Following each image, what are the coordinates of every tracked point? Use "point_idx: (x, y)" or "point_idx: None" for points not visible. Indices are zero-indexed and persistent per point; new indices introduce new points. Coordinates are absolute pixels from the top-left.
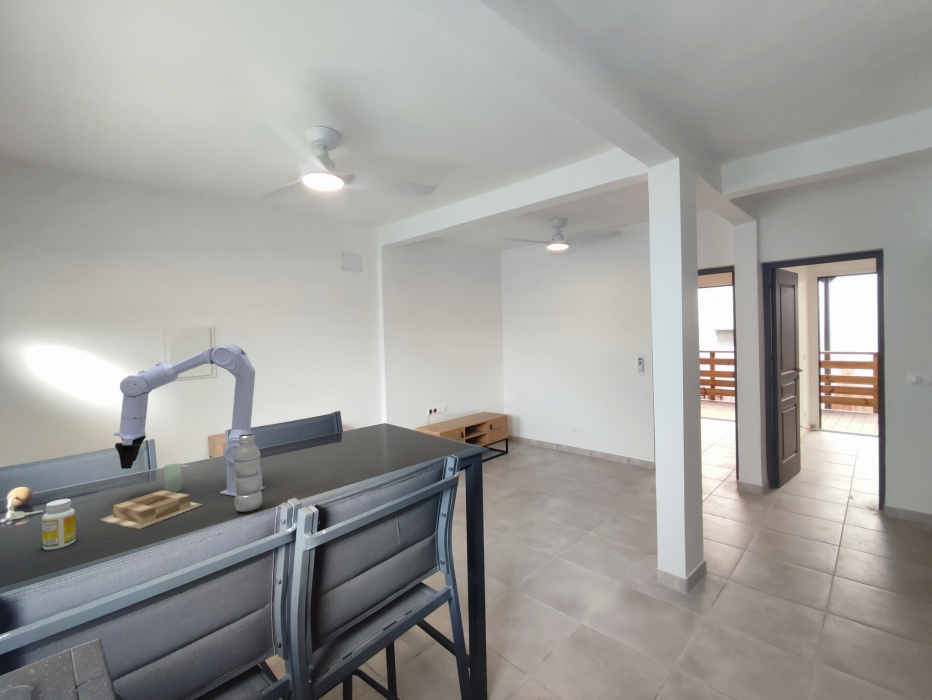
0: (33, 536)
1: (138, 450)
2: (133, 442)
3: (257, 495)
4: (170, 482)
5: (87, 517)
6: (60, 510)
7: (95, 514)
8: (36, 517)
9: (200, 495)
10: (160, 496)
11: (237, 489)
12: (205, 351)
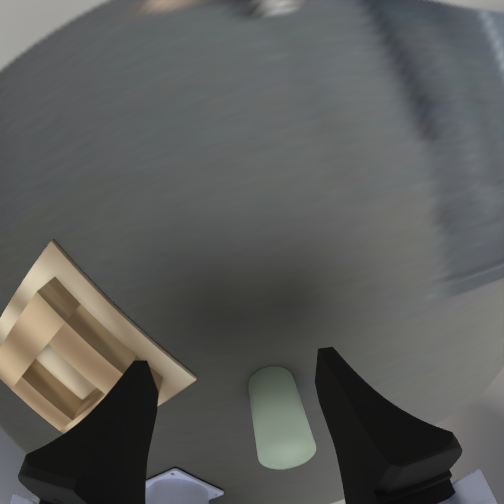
0: (14, 103)
1: (333, 442)
2: (357, 475)
3: None
4: (252, 409)
5: (100, 188)
6: None
7: (121, 204)
8: (202, 17)
9: (186, 441)
10: (98, 399)
11: (34, 498)
12: None
